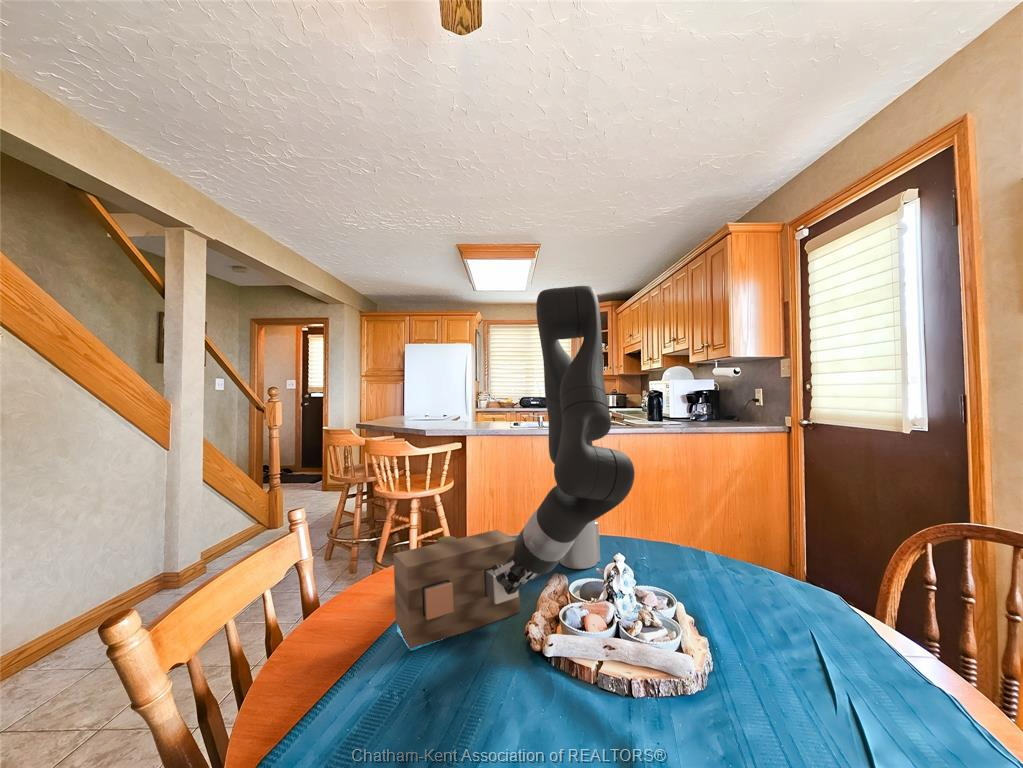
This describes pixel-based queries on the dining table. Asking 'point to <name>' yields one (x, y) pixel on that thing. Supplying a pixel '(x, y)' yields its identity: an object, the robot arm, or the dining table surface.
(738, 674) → the dining table surface
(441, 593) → the terracotta button
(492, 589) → the cream button
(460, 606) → the walnut panel
